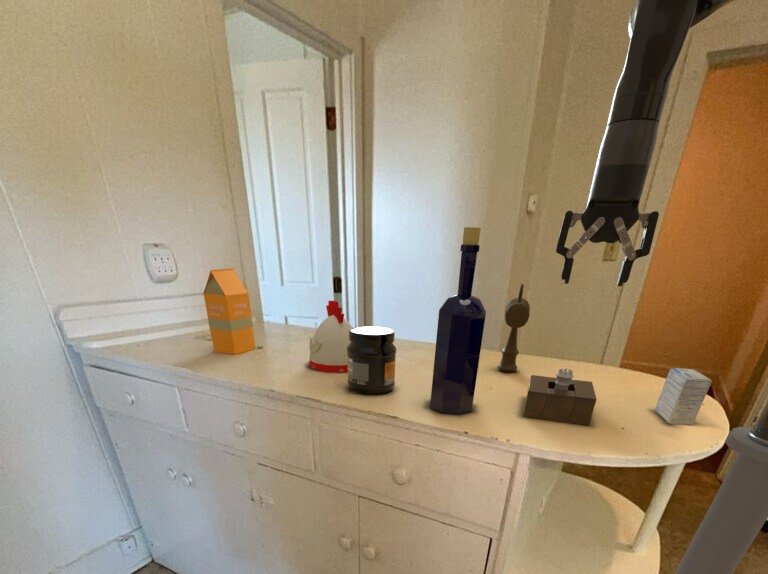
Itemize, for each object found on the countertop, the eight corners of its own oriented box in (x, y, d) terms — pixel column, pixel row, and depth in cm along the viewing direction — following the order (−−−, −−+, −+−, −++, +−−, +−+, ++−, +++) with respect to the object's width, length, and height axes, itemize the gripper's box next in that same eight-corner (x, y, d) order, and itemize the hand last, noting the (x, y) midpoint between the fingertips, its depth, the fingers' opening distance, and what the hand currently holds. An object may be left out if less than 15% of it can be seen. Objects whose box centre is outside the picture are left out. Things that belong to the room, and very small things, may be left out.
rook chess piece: (564, 416, 83) (576, 374, 78) (541, 411, 84) (551, 370, 80) (569, 410, 86) (580, 369, 81) (546, 405, 88) (556, 366, 83)
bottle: (464, 398, 90) (487, 228, 74) (481, 413, 83) (511, 228, 66) (422, 400, 88) (436, 226, 72) (436, 415, 81) (455, 226, 64)
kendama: (518, 367, 114) (535, 282, 103) (518, 376, 106) (536, 286, 95) (495, 364, 115) (509, 281, 104) (494, 374, 107) (509, 284, 96)
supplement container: (402, 386, 96) (405, 329, 90) (380, 398, 88) (382, 337, 82) (362, 378, 100) (362, 324, 94) (338, 390, 92) (336, 331, 86)
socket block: (585, 405, 88) (592, 381, 86) (588, 425, 79) (596, 399, 76) (526, 398, 91) (531, 374, 89) (522, 416, 82) (528, 390, 79)
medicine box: (693, 426, 80) (713, 380, 75) (667, 424, 81) (686, 378, 76) (676, 412, 86) (695, 369, 82) (653, 410, 87) (670, 367, 82)
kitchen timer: (348, 356, 118) (347, 296, 110) (373, 368, 108) (374, 303, 100) (301, 361, 112) (296, 298, 104) (323, 374, 102) (319, 306, 94)
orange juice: (256, 348, 123) (245, 269, 112) (235, 354, 116) (222, 271, 105) (234, 345, 126) (222, 267, 115) (213, 351, 119) (198, 269, 108)
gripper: (573, 162, 63) (549, 284, 72) (681, 159, 60) (641, 289, 69) (572, 168, 69) (549, 281, 78) (669, 166, 66) (634, 285, 75)
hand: (592, 284), depth 73 cm, fingers open, 8 cm apart
